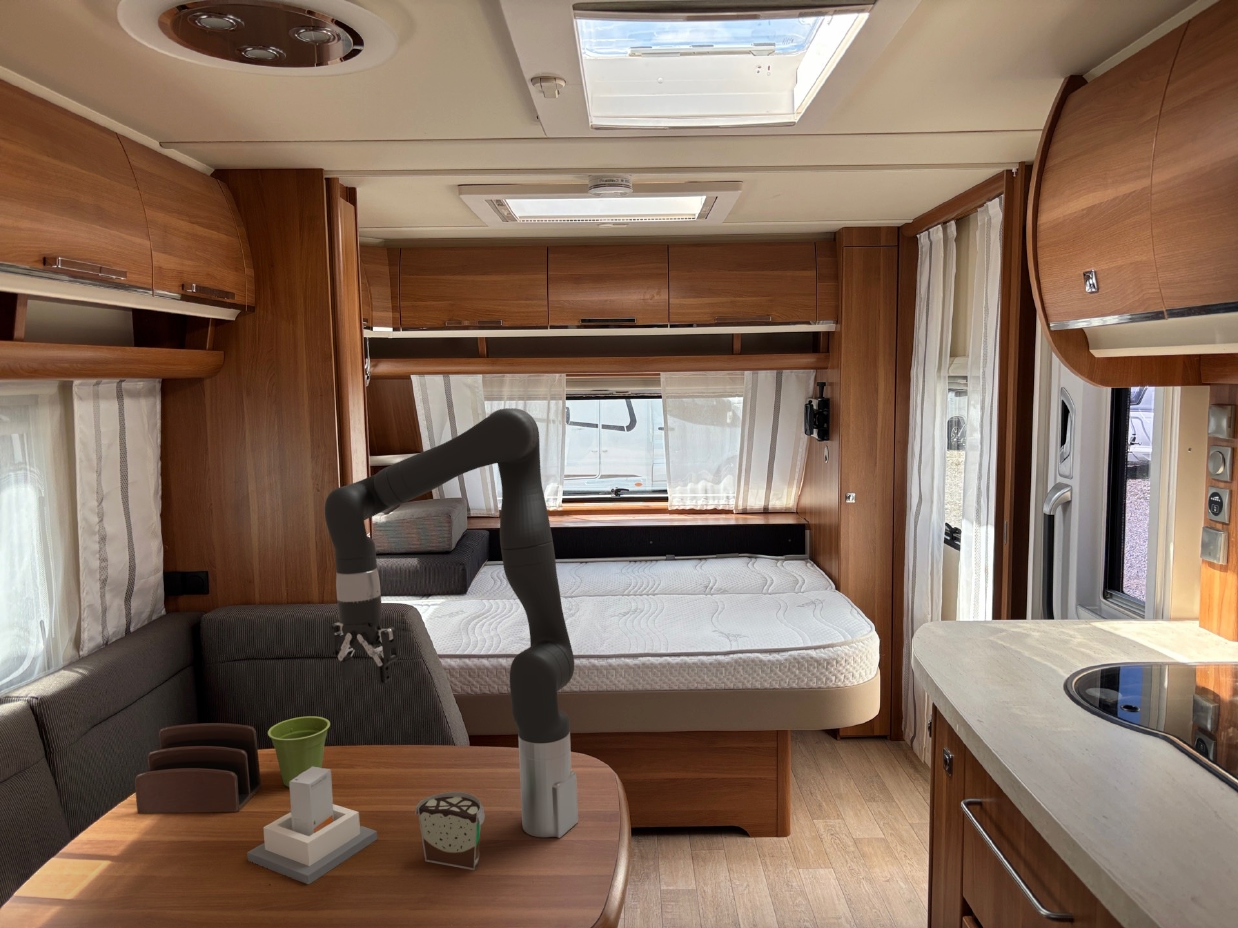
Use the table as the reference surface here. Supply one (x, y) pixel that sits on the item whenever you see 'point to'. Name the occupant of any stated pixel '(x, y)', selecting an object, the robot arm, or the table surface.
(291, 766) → the plant pot
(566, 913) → the table surface
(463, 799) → the food container
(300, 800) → the skincare box
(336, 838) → the box stand
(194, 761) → the letter holder
